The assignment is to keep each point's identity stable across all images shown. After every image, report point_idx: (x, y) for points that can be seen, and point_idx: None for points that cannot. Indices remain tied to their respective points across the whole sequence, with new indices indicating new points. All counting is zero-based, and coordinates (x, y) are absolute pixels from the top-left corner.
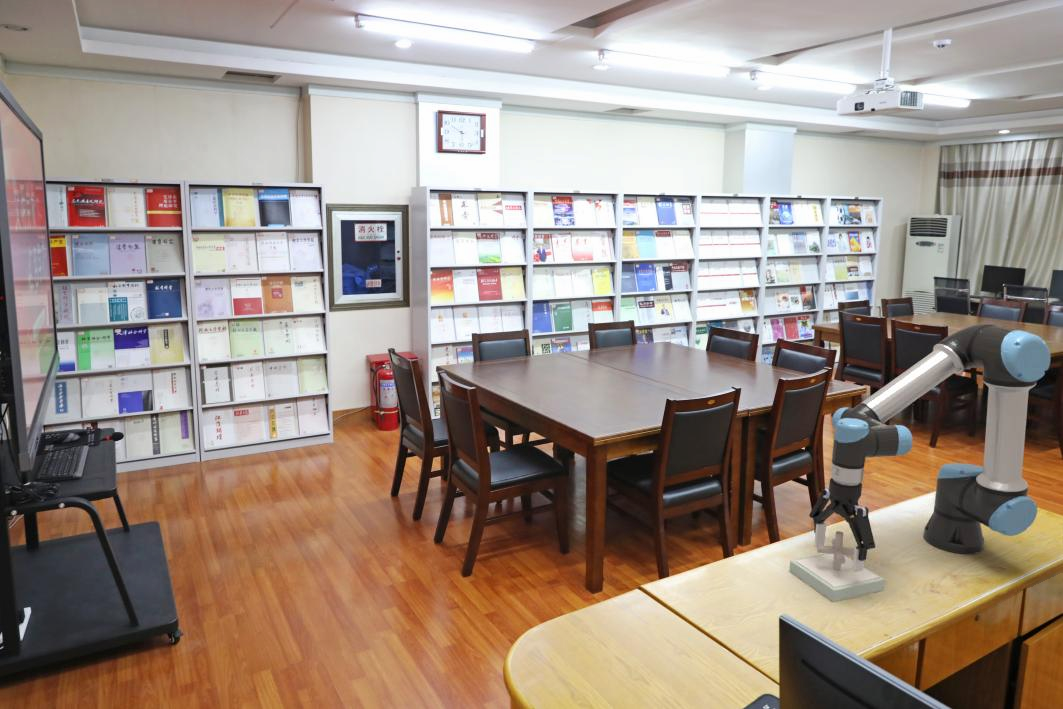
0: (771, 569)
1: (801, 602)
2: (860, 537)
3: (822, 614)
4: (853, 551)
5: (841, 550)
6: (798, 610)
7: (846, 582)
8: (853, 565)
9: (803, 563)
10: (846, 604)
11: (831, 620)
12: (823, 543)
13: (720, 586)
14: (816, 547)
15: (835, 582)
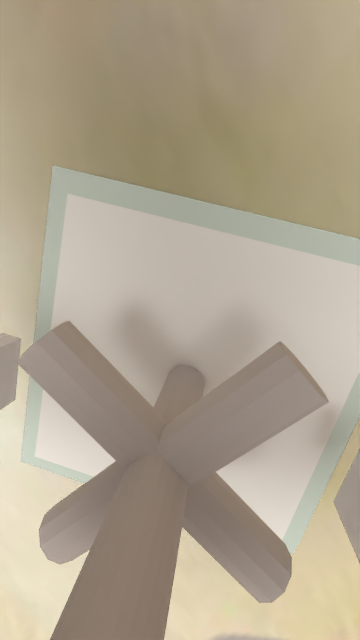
0: (15, 463)
1: (213, 573)
2: None
3: (302, 592)
4: (274, 433)
5: (193, 489)
6: (237, 615)
7: (297, 469)
8: (357, 545)
9: (67, 455)
10: (327, 487)
11: (344, 605)
12: (2, 353)
13: (28, 634)
14: (12, 396)
15: (262, 505)
